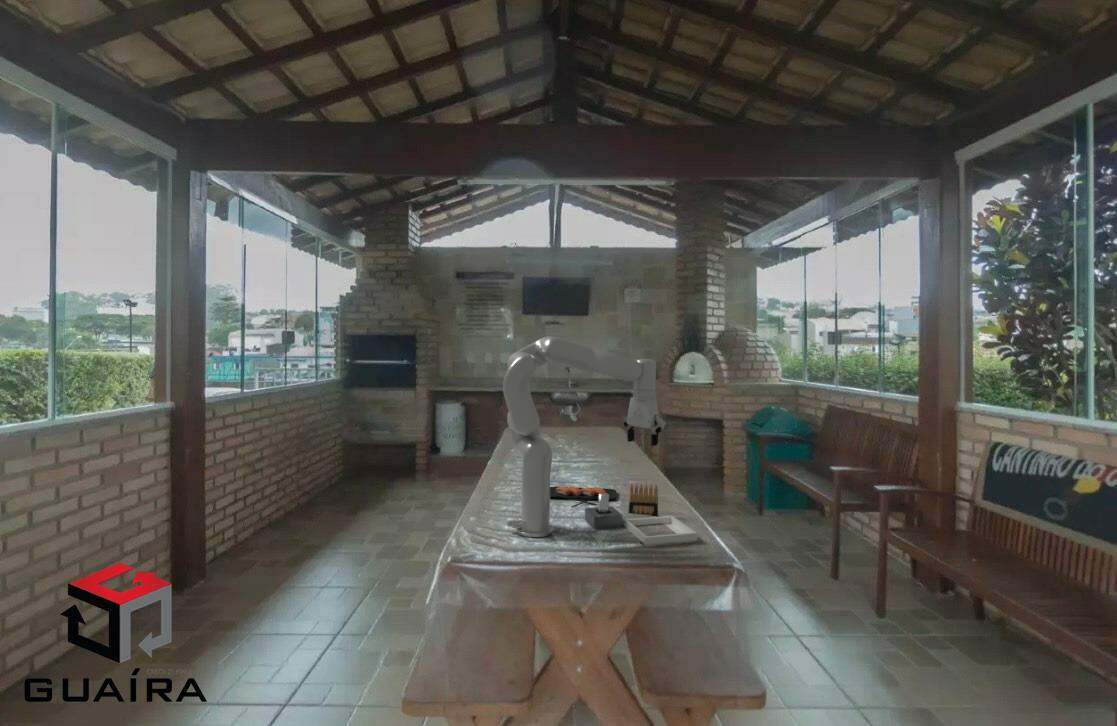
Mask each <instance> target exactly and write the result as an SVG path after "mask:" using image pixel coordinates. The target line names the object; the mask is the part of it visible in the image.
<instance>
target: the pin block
mask: <svg viewBox="0 0 1117 726" xmlns="http://www.w3.org/2000/svg"><path fill="white" fill-rule="evenodd" d="M584 520H585V521H586V522H587V523H588V524H589V526H590V527H592V528H593V530H596V529H597V530H598V529H600V530H601V529H608V528H620V527H623V514H622V513H621V512H620V511H619V510H617V509H616V508H615V507H613V506H611V505H609V513H607V514H598V506H596V507H595V506H594V507H585V508H584Z"/></svg>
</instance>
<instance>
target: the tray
mask: <svg viewBox="0 0 1117 726" xmlns="http://www.w3.org/2000/svg"><path fill="white" fill-rule="evenodd" d="M657 524H658V525H660V524H663V525H664V526H666V527H667V528H668V529H670V530H671V531H673V533H672V534H671V533H670V534H659V535H650V536H648V535H646V534H645V533H644V532H642V531H641V530H640V529H639V528H638V527H637V526H645V525H646V526H647V525H657ZM623 527H625V528H626V529H627V530H628V531H629V532H631V533H632V534H633V536H635V537H636V538H638V540H640V541H641V542H640V541H639V543H640V544H641V546H643V547H645V548H650V547H661V546H673V545H682V544H683V543H685V544H693V543H698V532H697V531H695V530H693V529H692V528H691V527H689V526H688V525H686V524H685V523H684V522H682V521H680V520H679V519H678V518H676V517H674V516H673V515H666V516H663V515H662V516H658V517H653V516H652V517H651V516H650V517H639V518H625V519H623ZM683 545H684V544H683Z"/></svg>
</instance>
